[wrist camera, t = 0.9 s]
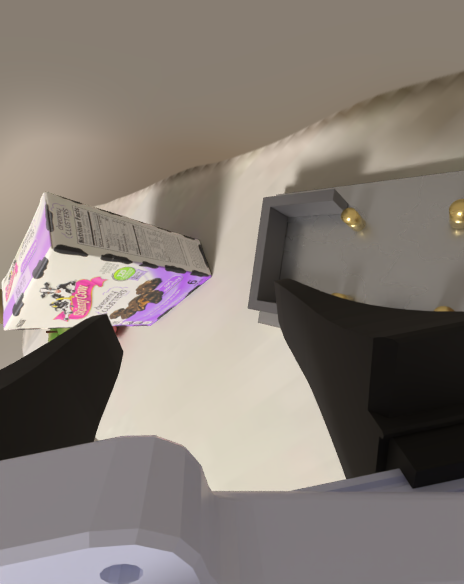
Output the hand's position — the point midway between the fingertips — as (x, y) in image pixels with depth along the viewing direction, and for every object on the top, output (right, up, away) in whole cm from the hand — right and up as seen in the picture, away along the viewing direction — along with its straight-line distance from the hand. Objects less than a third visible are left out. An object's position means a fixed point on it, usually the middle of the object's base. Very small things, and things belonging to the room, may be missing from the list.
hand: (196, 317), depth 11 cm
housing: (+8, +4, +11) cm, 14 cm away
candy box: (-6, +2, +24) cm, 25 cm away
